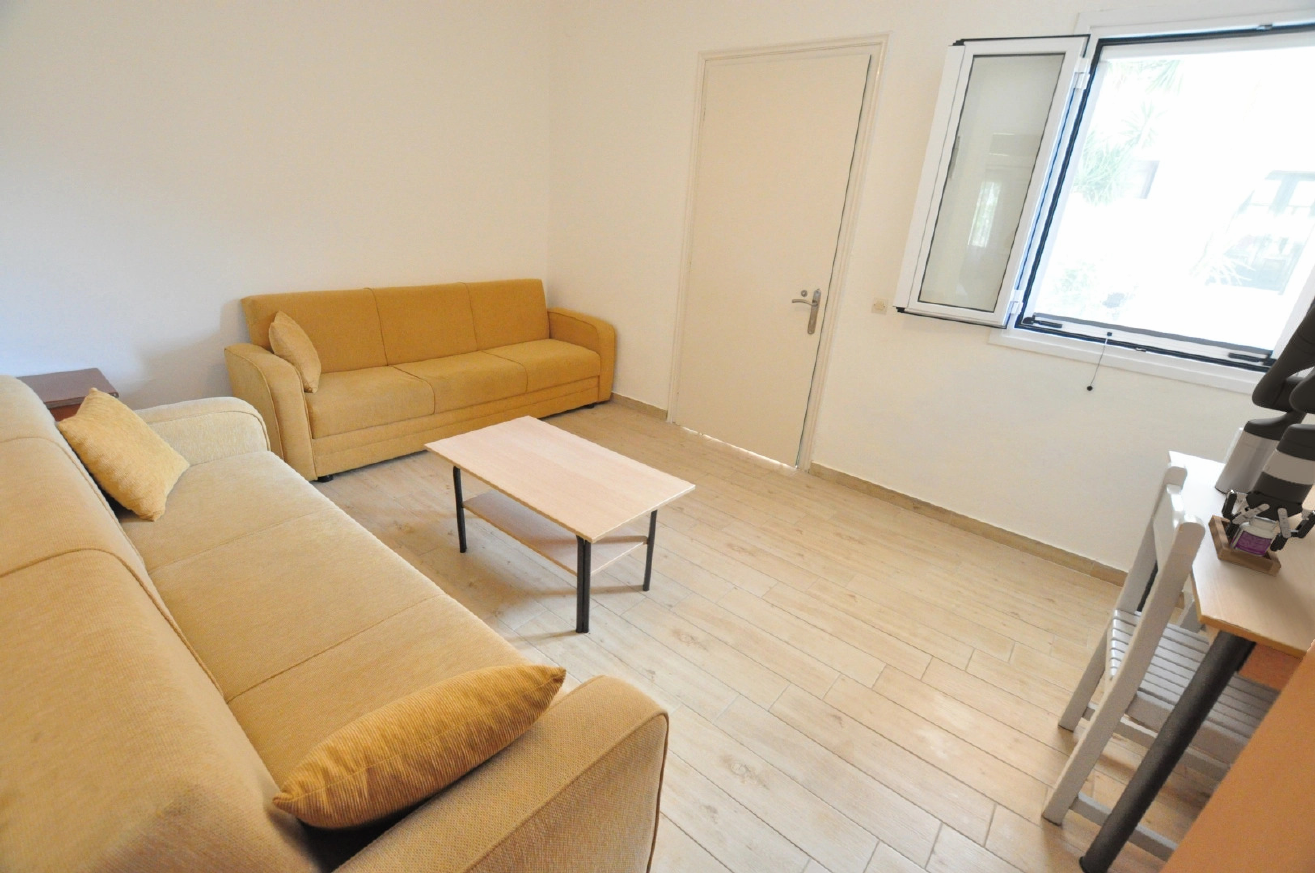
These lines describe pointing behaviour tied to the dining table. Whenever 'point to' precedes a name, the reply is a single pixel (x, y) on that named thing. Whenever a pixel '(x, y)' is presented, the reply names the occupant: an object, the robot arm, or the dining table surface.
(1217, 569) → the dining table surface
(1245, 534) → the pill bottle
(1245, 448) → the robot arm
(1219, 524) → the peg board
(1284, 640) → the dining table surface
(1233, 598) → the dining table surface
